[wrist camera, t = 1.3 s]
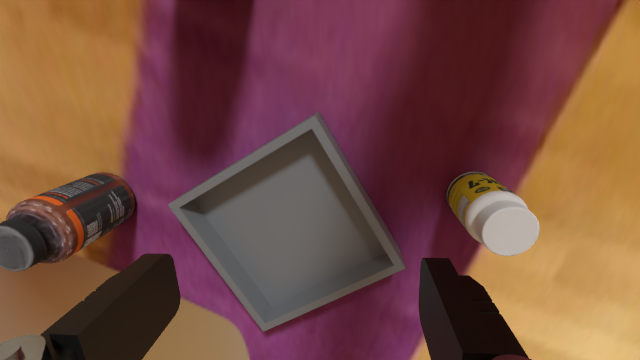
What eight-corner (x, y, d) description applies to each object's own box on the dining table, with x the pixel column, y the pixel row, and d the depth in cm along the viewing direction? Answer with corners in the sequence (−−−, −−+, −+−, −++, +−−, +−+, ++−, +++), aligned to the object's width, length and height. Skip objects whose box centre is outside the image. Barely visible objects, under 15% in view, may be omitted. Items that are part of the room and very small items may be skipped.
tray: (318, 111, 30) (314, 115, 27) (400, 249, 34) (405, 268, 30) (185, 192, 34) (167, 204, 31) (271, 309, 38) (263, 331, 34)
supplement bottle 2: (501, 172, 30) (555, 206, 22) (490, 218, 32) (536, 264, 24) (450, 168, 31) (484, 199, 23) (440, 213, 32) (470, 257, 24)
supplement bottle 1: (75, 180, 35) (-47, 225, 24) (121, 163, 34) (13, 202, 23) (103, 228, 36) (-1, 290, 26) (147, 213, 35) (58, 272, 25)
